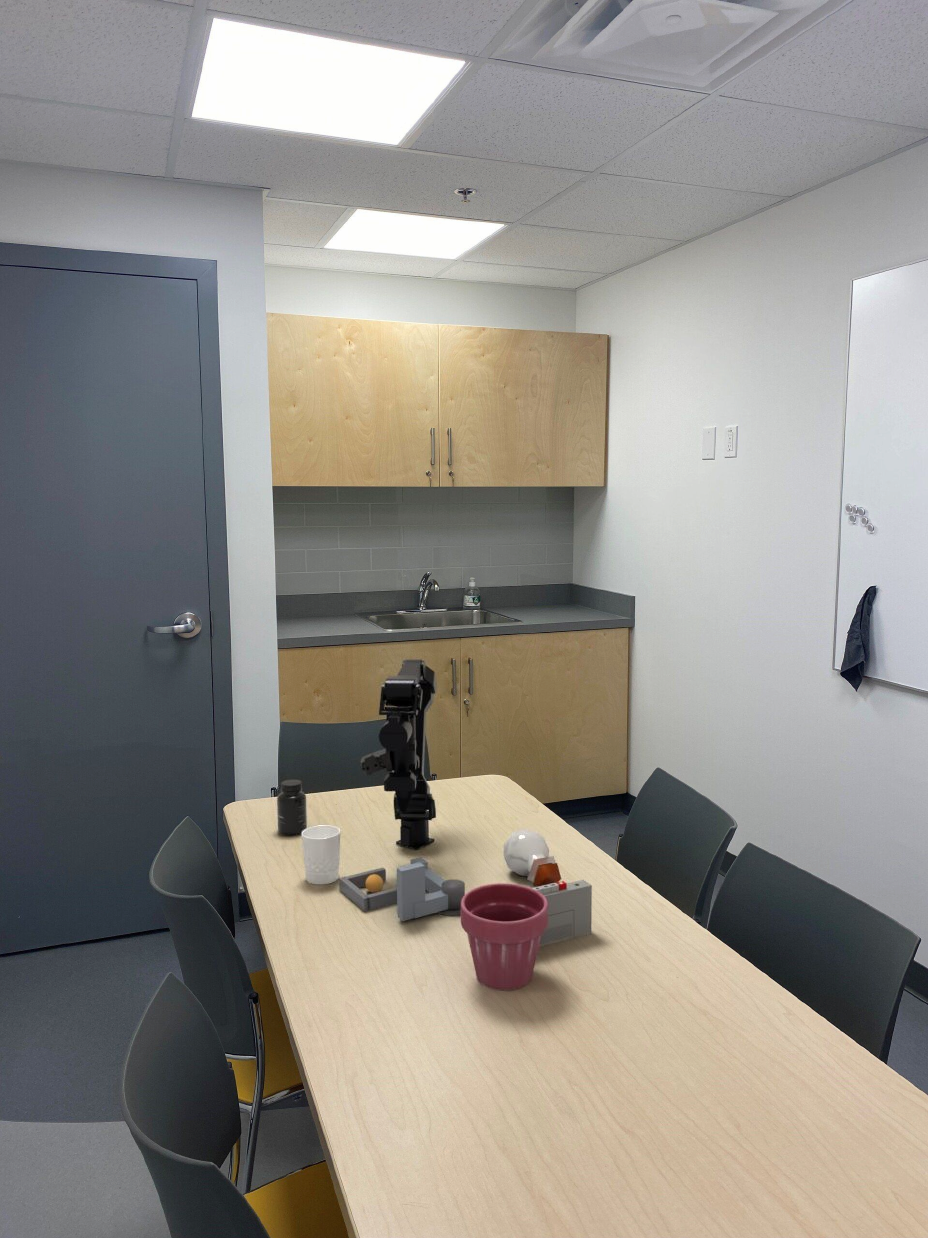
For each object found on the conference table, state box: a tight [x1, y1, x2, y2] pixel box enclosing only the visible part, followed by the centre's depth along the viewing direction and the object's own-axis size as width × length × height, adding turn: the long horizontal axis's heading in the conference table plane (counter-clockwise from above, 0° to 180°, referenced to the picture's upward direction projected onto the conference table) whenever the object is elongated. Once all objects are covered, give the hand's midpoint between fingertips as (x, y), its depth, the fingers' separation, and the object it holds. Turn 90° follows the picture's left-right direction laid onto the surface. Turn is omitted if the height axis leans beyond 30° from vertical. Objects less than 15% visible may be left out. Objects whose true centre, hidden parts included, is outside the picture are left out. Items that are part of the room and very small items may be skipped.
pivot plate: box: [437, 908, 461, 917], centre depth 169 cm, size 7×7×1 cm
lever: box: [396, 856, 466, 922], centre depth 172 cm, size 17×14×10 cm
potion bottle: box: [503, 828, 562, 887], centre depth 182 cm, size 9×10×15 cm
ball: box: [365, 874, 384, 894], centre depth 177 cm, size 4×4×4 cm
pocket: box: [338, 867, 397, 912], centre depth 175 cm, size 10×11×2 cm
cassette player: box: [531, 879, 593, 947], centre depth 156 cm, size 16×3×10 cm, turn 116°
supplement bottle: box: [276, 779, 308, 837], centre depth 210 cm, size 7×7×12 cm
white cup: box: [301, 824, 341, 886], centre depth 183 cm, size 8×8×10 cm
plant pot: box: [460, 882, 548, 991], centre depth 144 cm, size 14×14×13 cm
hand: (403, 811), depth 185 cm, fingers closed
